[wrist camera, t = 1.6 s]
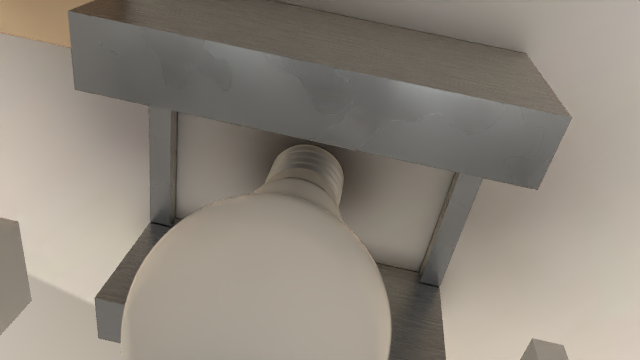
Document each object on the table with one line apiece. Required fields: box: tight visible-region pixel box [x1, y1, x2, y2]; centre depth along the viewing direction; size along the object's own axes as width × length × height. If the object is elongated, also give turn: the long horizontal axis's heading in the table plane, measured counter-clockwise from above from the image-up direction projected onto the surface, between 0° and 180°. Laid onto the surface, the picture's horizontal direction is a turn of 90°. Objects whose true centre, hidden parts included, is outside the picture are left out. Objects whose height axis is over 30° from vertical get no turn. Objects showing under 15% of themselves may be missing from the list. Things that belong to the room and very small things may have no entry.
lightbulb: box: [121, 145, 392, 360], centre depth 14 cm, size 6×6×11 cm
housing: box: [68, 0, 572, 360], centre depth 17 cm, size 12×12×5 cm
